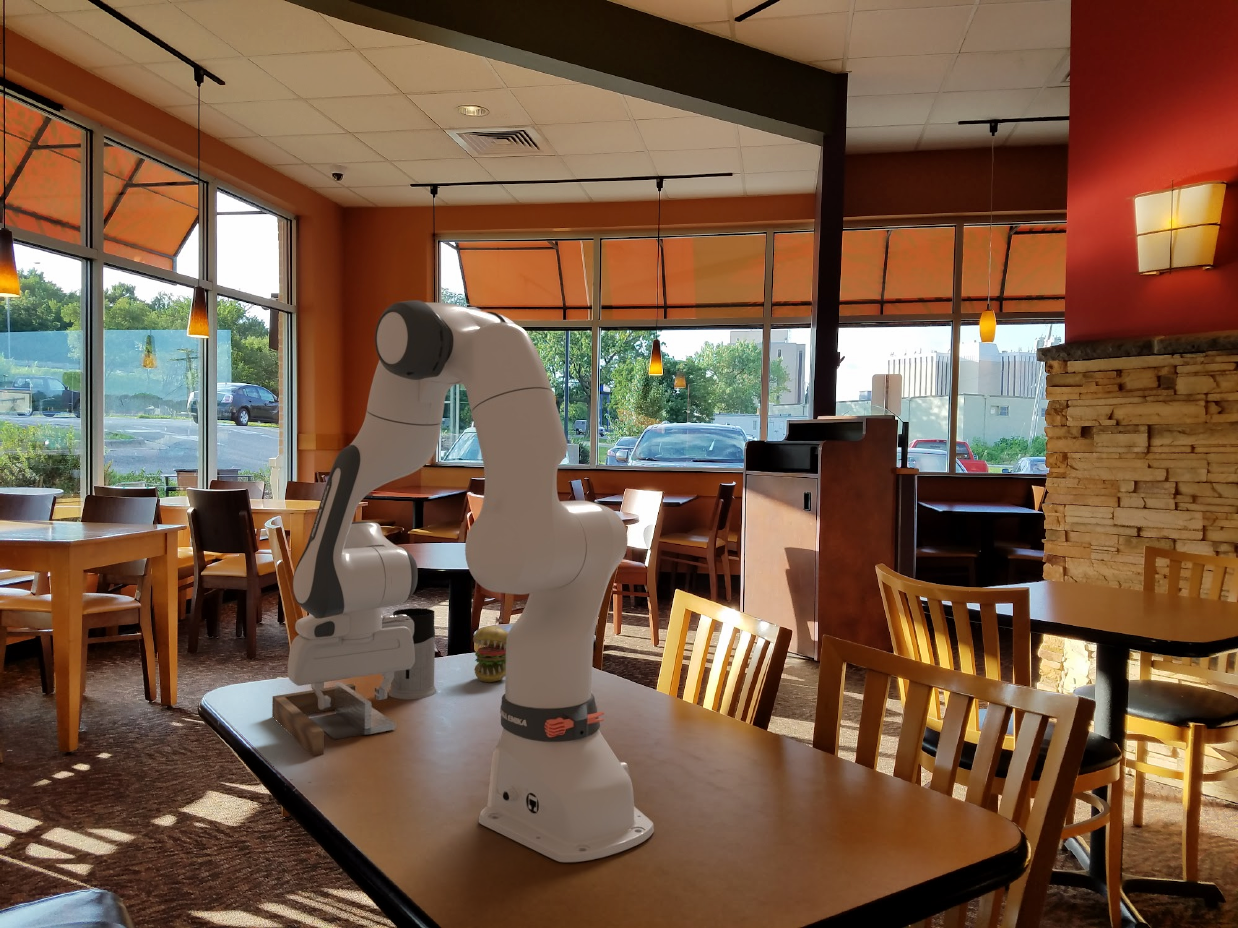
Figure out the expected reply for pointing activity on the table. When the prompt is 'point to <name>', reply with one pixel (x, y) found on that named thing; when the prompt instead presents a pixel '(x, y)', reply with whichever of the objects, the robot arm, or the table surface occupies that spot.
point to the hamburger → (491, 653)
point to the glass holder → (417, 658)
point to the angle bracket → (359, 711)
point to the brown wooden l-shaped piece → (311, 719)
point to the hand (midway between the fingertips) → (353, 703)
